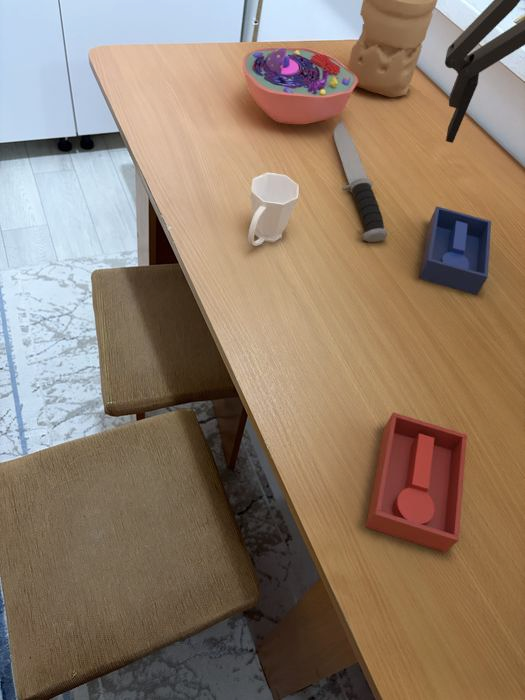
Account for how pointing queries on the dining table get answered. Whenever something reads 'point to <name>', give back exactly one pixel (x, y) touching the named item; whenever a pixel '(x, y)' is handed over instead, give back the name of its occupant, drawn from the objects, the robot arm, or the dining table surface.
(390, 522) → the red bin
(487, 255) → the blue bin
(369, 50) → the container
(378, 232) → the knife
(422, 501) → the red spoon
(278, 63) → the cell model
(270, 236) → the cup
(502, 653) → the dining table surface
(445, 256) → the blue spoon
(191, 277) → the dining table surface
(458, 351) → the dining table surface
